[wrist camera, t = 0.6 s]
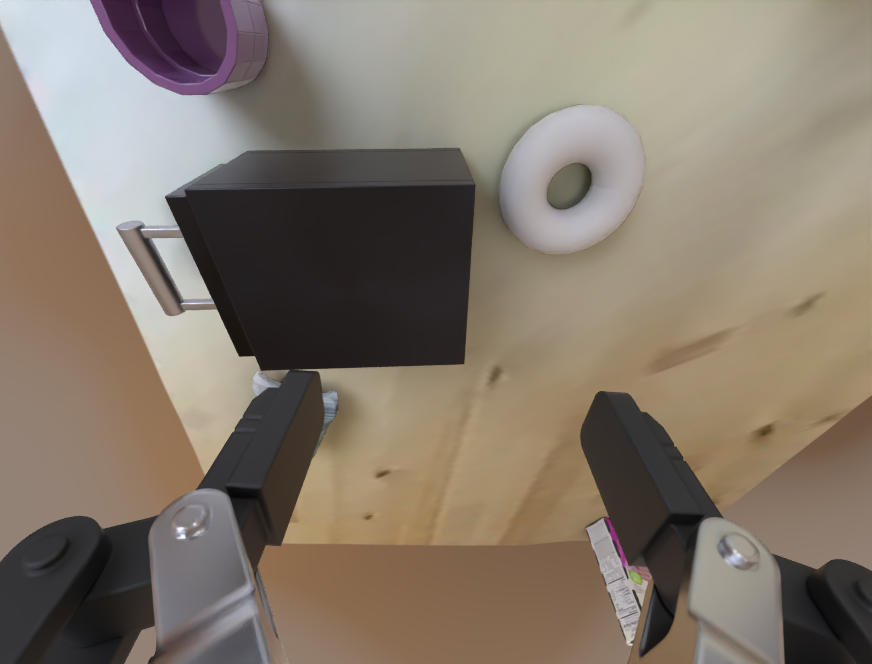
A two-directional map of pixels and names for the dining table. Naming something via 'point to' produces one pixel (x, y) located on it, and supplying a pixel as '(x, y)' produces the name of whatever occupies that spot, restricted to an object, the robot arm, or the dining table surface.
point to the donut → (558, 147)
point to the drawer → (188, 227)
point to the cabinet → (343, 254)
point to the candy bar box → (619, 576)
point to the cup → (188, 41)
